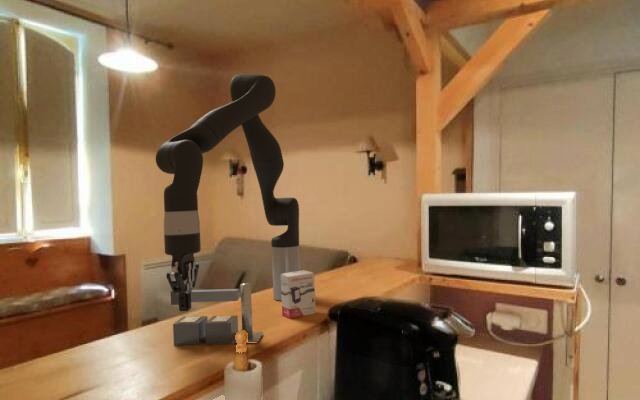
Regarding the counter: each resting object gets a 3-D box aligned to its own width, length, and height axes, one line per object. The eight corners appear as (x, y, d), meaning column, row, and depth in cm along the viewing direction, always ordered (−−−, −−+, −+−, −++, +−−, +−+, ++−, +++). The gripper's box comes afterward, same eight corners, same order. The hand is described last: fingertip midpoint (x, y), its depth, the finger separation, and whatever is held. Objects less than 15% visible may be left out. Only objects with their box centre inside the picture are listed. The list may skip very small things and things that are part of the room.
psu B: (184, 337, 100) (183, 315, 100) (208, 336, 99) (207, 315, 99) (173, 345, 94) (172, 323, 94) (199, 345, 93) (198, 322, 93)
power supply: (214, 336, 99) (213, 315, 99) (238, 335, 99) (237, 314, 99) (205, 345, 93) (204, 322, 93) (231, 344, 93) (230, 322, 93)
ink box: (290, 319, 111) (288, 275, 111) (281, 315, 115) (279, 273, 115) (316, 313, 115) (314, 271, 115) (307, 309, 119) (305, 269, 120)
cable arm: (239, 300, 97) (238, 286, 97) (236, 303, 94) (235, 289, 94) (175, 301, 98) (175, 288, 98) (171, 304, 95) (170, 291, 95)
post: (238, 335, 99) (236, 281, 99) (262, 334, 98) (260, 281, 98) (231, 344, 93) (229, 287, 93) (257, 343, 92) (255, 286, 92)
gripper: (187, 233, 83) (190, 318, 83) (208, 229, 96) (211, 302, 96) (151, 235, 83) (154, 319, 83) (177, 230, 96) (180, 303, 96)
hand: (185, 310), depth 90 cm, fingers closed
